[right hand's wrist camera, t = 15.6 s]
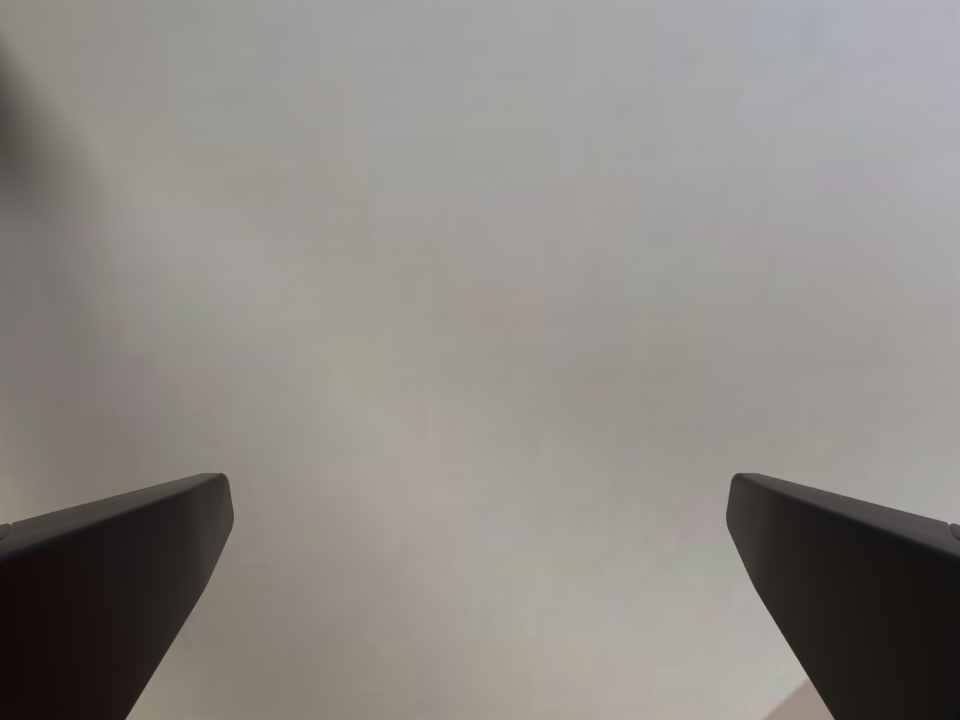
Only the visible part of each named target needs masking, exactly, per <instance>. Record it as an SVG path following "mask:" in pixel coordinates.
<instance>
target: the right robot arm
mask: <svg viewBox="0 0 960 720" xmlns="http://www.w3.org/2000/svg"><path fill="white" fill-rule="evenodd" d="M233 521H234V513H233V506H232V500H231V493H230V487H229V481H228V478H227V476H226V475H225V474H222V473H203V474H198V475H194V476H191V477H187V478H183V479H179V480H175V481H171V482H168V483H164V484H160V485H156V486H152V487H148V488H145V489H141V490H137V491H133V492H129V493H125V494H121V495H118V496H114V497H110V498H106V499H102V500H98V501H95V502H91V503H87V504H83V505H79V506H75V507H71V508H68V509H64V510H60V511H56V512H52V513H48V514H45V515H41V516H37V517H33V518H29V519H25V520H21V521H18V522H14V523H12V525H11V526H10V524H3V525H0V720H125V719H126V718H127V716H128V715H129V713H130V711H131V710H132V708H133V706H134V705H135V703H136V701H137V700H138V698H139V696H140V695H141V693H142V692H143V690H144V688H145V687H146V685H147V683H148V682H149V680H150V678H151V677H152V675H153V674H154V672H155V670H156V669H157V667H158V665H159V664H160V662H161V660H162V659H163V657H164V655H165V654H166V652H167V651H168V649H169V647H170V646H171V644H172V642H173V641H174V639H175V637H176V636H177V634H178V632H179V631H180V629H181V628H182V626H183V624H184V623H185V621H186V619H187V618H188V616H189V614H190V613H191V611H192V610H193V608H194V606H195V605H196V603H197V601H198V600H199V598H200V596H201V594H202V593H203V591H204V589H205V587H206V585H207V583H208V581H209V579H210V577H211V575H212V572H213V570H214V568H215V566H216V563H217V561H218V559H219V557H220V554H221V552H222V550H223V548H224V545H225V543H226V541H227V539H228V536H229V534H230V532H231V530H232V526H233ZM726 521H727V526H728V530H729V532H730V534H731V536H732V539H733V541H734V543H735V545H736V548H737V550H738V552H739V554H740V557H741V559H742V561H743V563H744V566H745V568H746V570H747V572H748V575H749V577H750V579H751V581H752V583H753V585H754V587H755V589H756V591H757V593H758V594H759V596H760V598H761V600H762V601H763V603H764V605H765V606H766V608H767V610H768V611H769V613H770V614H771V616H772V618H773V619H774V621H775V623H776V624H777V626H778V628H779V629H780V631H781V632H782V634H783V636H784V637H785V639H786V641H787V642H788V644H789V646H790V647H791V649H792V651H793V652H794V654H795V655H796V657H797V659H798V660H799V662H800V664H801V665H802V667H803V669H804V670H805V672H806V673H807V675H808V677H809V678H810V680H811V682H812V683H813V685H814V687H815V688H816V690H817V692H818V693H819V695H820V696H821V698H822V700H823V701H824V703H825V705H826V706H827V708H828V710H829V711H830V713H831V714H832V716H833V718H834V719H835V720H960V525H957V524H950V526H949V524H948V523H946V522H942V521H939V520H935V519H931V518H927V517H923V516H919V515H916V514H912V513H908V512H904V511H900V510H896V509H892V508H889V507H885V506H881V505H877V504H873V503H869V502H866V501H862V500H858V499H854V498H850V497H846V496H842V495H839V494H835V493H831V492H827V491H823V490H819V489H816V488H812V487H808V486H804V485H800V484H796V483H792V482H789V481H785V480H781V479H777V478H773V477H769V476H766V475H762V474H757V473H738V474H735V475H734V476H733V478H732V481H731V487H730V493H729V500H728V506H727V513H726Z"/></svg>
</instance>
